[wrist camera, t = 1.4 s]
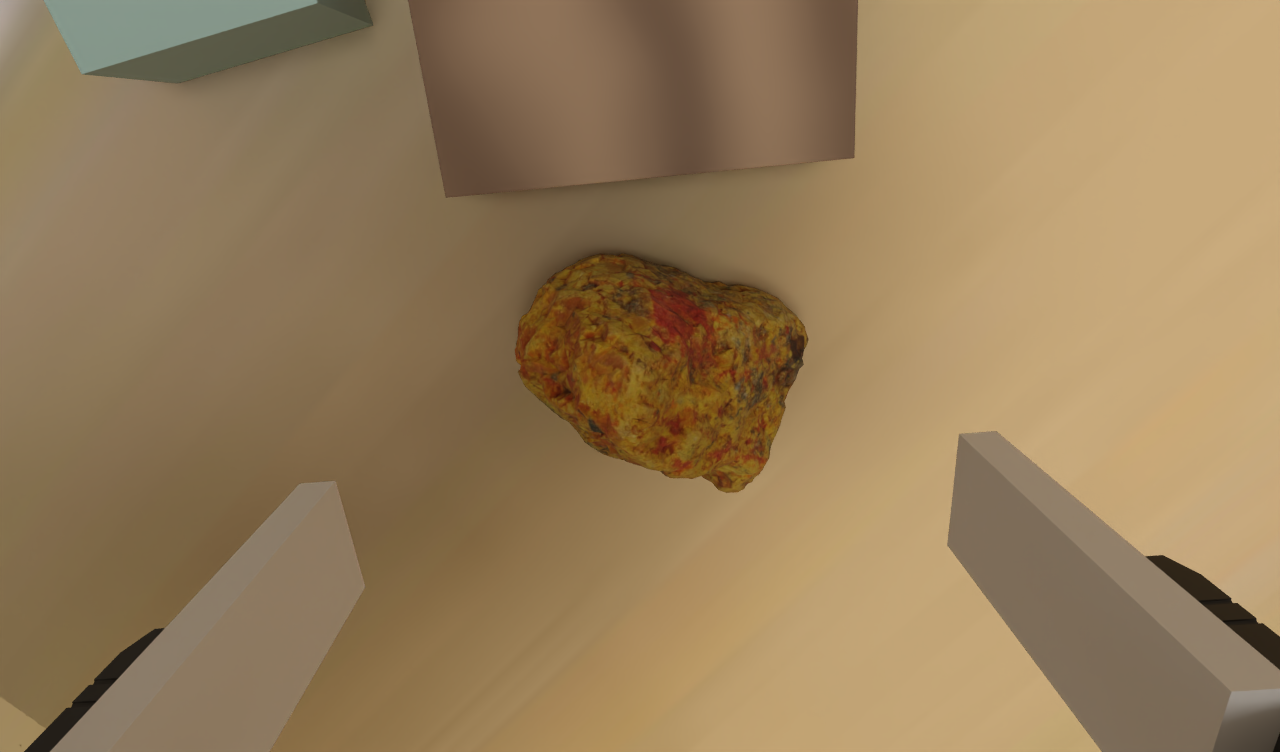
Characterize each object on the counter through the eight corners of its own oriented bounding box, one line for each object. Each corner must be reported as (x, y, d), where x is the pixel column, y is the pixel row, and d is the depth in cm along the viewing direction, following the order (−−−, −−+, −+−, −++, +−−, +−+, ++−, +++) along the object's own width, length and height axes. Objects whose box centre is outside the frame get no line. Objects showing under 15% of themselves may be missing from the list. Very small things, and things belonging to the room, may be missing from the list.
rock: (690, 221, 31) (869, 335, 26) (633, 364, 35) (780, 483, 31) (500, 231, 23) (715, 400, 18) (456, 416, 27) (621, 589, 22)
